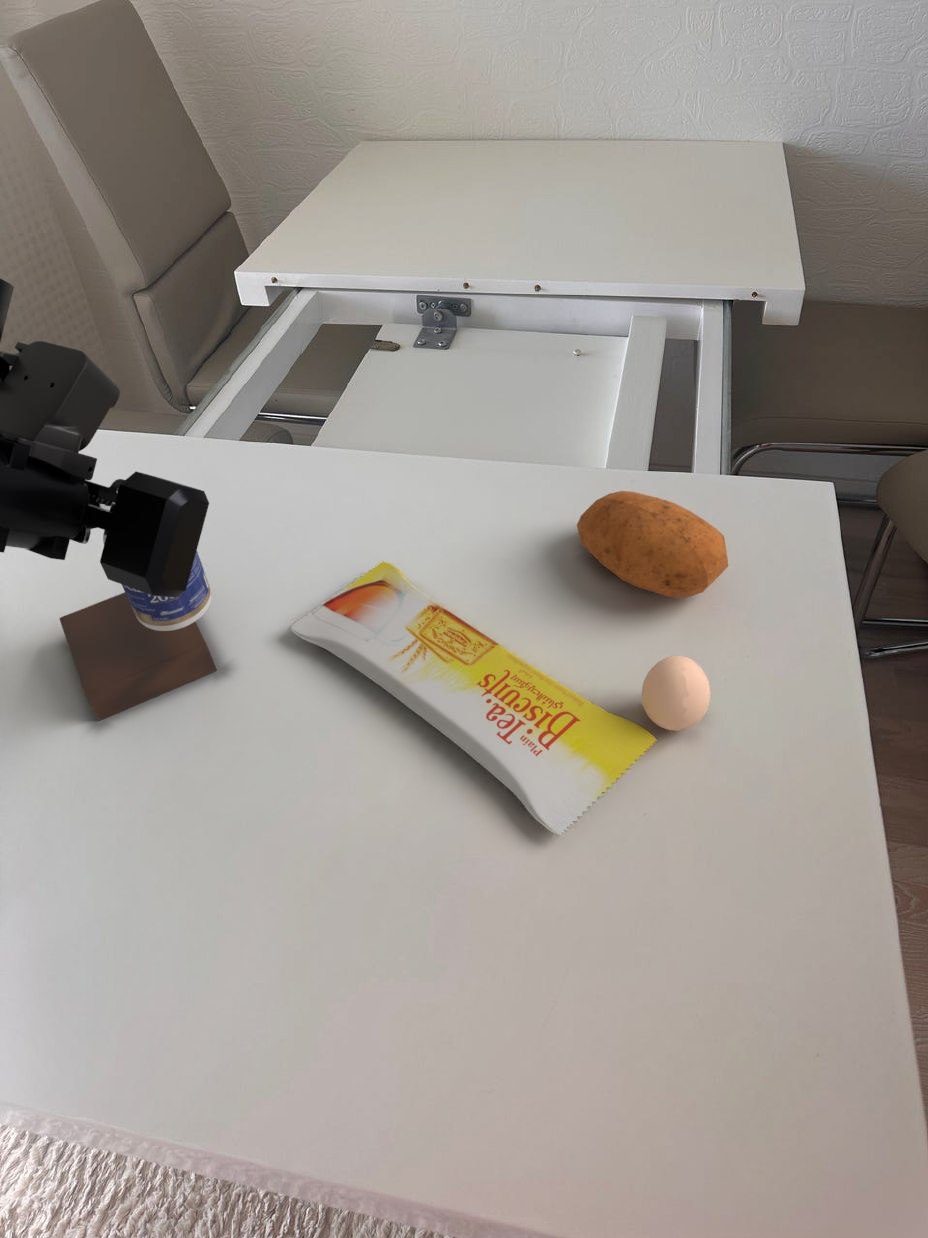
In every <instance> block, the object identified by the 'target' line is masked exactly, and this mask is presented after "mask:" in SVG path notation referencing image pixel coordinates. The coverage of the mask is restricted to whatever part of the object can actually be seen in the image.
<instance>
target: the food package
mask: <svg viewBox="0 0 928 1238" xmlns="http://www.w3.org/2000/svg"><path fill="white" fill-rule="evenodd" d="M289 628H290V631H291V632H292V633H294V634H295V635H296V636H298V637H299V638H300V639H302V640H304V641H305V642H308V643H311V644H314V645H316V646H318V647H320V648H323V649H325V650H327V651H328V652H330V653H332V654H333V655H335V657H337V658H339V659H341V660H342V661H344V662H345V663H347V664H348V665H349V666H351V667H352V668H354V669H355V670H357V671H358V672H360V673H361V674H362V675H364V676H366V677H367V678H368V679H370V680H371V681H373V682H374V683H375V684H377V685H378V686H380V687H381V688H382V689H383V690H385V691H386V692H388V693H389V694H390V695H392V696H393V697H394V698H396V699H397V700H398V701H399V702H401V703H402V704H403V705H405V707H407V708H409V709H410V710H411V711H412V712H414V713H415V714H416V715H418V716H419V717H421V718H422V719H423V720H424V721H426V722H427V723H428V724H430V725H431V726H432V727H434V728H435V729H436V730H438V731H439V732H440V733H441V734H442V735H444V736H445V737H446V738H447V739H449V740H450V741H451V742H452V743H454V744H455V745H456V746H458V747H459V748H460V749H462V751H464V752H465V753H466V754H467V755H469V756H470V757H471V758H472V759H473V760H475V762H477V763H478V764H480V765H481V766H482V767H483V768H484V769H485V770H486V771H488V773H490V774H491V775H492V776H493V777H495V778H496V779H497V780H498V781H500V782H501V783H502V784H503V785H504V786H505V787H506V788H507V789H508V790H510V791H511V792H512V793H513V794H514V795H515V796H516V798H517V799H518V800H519V801H520V802H521V804H522V805H523V806H524V808H525V810H527V812H528V813H529V814H530V815H531V816H532V817H533V819H535V820H536V821H537V822H538V823H539V825H542V826H543V827H544V828H545V829H546V830H548V831H549V832H551V833H552V834H554V835H558V836H560V837H563V834H566V831H567V832H568V831H569V829H571V826H574V823H576V822H578V821H579V820H578V818H581V817H583V813H586V812H588V808H591V807H593V804H594V803H597V802H598V798H602V797H603V794H604V793H608V789H611V788H612V785H613V784H617V780H618V779H622V775H625V774H626V773H627V770H631V766H635V765H636V761H639V760H641V759H640V757H642V756H645V753H648V750H650V749H651V748H652V747H653V745H656V743H657V742H658V740H657V739H656V737H655V736H654V735H653V734H652V733H650V732H649V731H648V730H647V729H645V728H643V727H642V726H640V725H639V724H637V723H635V722H634V721H631V720H629V719H626V718H624V717H622V716H619V715H616V714H614V713H611V712H610V711H607V710H605V709H603V708H601V707H600V706H598V705H596V704H594V703H593V702H592V701H589V700H587V699H586V698H584V697H583V696H581V695H580V694H577V693H576V692H575V691H573V690H571V689H570V688H568V687H567V686H565V685H563V684H562V683H560V682H559V681H557V680H555V679H553V678H552V677H550V676H549V675H547V674H546V673H544V672H542V671H541V670H540V669H537V668H536V667H535V666H533V665H531V664H530V663H528V662H526V661H525V660H523V659H522V658H520V657H519V656H517V655H515V653H513V652H512V651H510V650H508V649H507V648H506V647H504V646H502V644H500V643H497V642H496V641H495V640H493V639H491V638H490V637H489V636H487V635H485V634H484V633H483V632H481V631H480V630H478V629H476V628H475V627H474V626H472V625H470V624H469V623H467V622H466V621H464V620H462V619H461V618H460V617H458V616H457V615H456V614H454V613H453V612H451V611H450V610H449V609H447V608H446V607H444V606H443V605H441V604H440V603H438V602H437V601H435V600H434V599H433V598H431V597H430V596H428V594H426V593H424V592H423V591H422V590H420V589H419V588H418V587H417V586H415V585H414V584H413V583H412V582H411V581H410V580H409V579H408V578H407V577H406V575H405V574H404V573H403V571H401V569H399V568H398V567H396V566H395V565H393V564H392V563H390V562H387V561H383V560H382V561H381V562H379V564H376V565H375V566H374V567H372V569H370V570H368V572H365V573H364V574H363V575H361V576H359V578H358V579H354V582H353V581H352V582H350V584H349V585H346V586H345V588H342V589H341V590H340V591H338V592H336V594H334V595H332V596H331V597H330V598H328V599H327V600H326V601H323V602H322V604H320V605H318V606H317V607H315V608H313V610H312V611H308V614H305V615H303V617H301V618H299V619H297V621H294V623H291V625H289Z"/></svg>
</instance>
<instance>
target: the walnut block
mask: <svg viewBox="0 0 928 1238" xmlns="http://www.w3.org/2000/svg"><path fill="white" fill-rule="evenodd" d="M59 623H60V625H61V628H62V631H63V634H64V637H65V640H66V643H67V646H68V650H69V653H70V655H71V658H72V661H73V664H74V667H75V670H76V673H77V676H78V679H79V682H80V685H81V688H82V692H83V694H84V697H85V698H86V699H87V702H88V703H89V705H90V707H91V709H92V710H93V712H94V714H95V716H96V717H97V720H98V721H102V720H105V719H107V718H109V717H112V716H114V715H117V714H119V713H121V712H123V711H126V710H128V709H131V708H134V707H135V706H137V705H140V704H142V703H145V702H147V701H150V700H152V699H154V698H156V697H158V696H161V695H164V694H166V693H168V692H170V691H172V690H175V689H177V688H180V687H182V686H185V685H186V684H187V685H188V684H189V683H192V682H194V681H196V680H199V679H201V678H203V677H206V676H208V675H211V674H213V673H215V672H217V671H218V668H217V666H216V664H215V661H214V659H213V656H212V654H211V651H210V648H209V646H208V643H207V641H206V640H205V638H204V635H203V633H202V631H201V629H200V627H199V625H198V623H197V621H195V622H194V623H192V624H190V625H188V626H186V627H183V628H180V629H177V630H170V631H157V630H153V629H150V628H147V627H145V626H144V625H143V624H141V623H140V621H139V620H138V619H137V617H136V615H135V613H134V611H133V609H132V606H131V604H130V602H129V600H128V597H127V595H126V593H125V591H124V592H122V593H120V594H119V593H118V594H117V595H114V596H111V597H109V598H106V599H104V600H101V601H99V602H96V603H94V604H92V605H88V606H86V607H83V608H81V609H79V610H76V611H73V612H71V613H68V614H65V615H63V616H61V617H59Z"/></svg>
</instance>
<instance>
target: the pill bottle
mask: <svg viewBox="0 0 928 1238" xmlns="http://www.w3.org/2000/svg"><path fill="white" fill-rule="evenodd" d="M110 507H111V506H106V505H104V504H100V508H103V509H106V510H109V511H110ZM105 540H106V536H105V535H104V533H103V535H102V542H103V545H104V544H105ZM121 587H122V588H123V591H124V592H125V593H126V595H127V597H128V600H129V602H130V604H131V606H132V609H133V611H134V613H135V615H136V617H137V619H138V620H139V621H140V623H141V624H143V625H144V626H145V627H147V628H150V629H153V630H157V631H170V630H177V629H180V628H183V627H186V626H188V625H190V624H192V623H194V622H195V621H196V622H197V621H199V619H200V618H202V617H203V616H204V615H205V614H206V612H207V611H208V609H209V608H210V606H211V602H212V598H213V597H212V589H211V587H210V584H209V580H208V578H207V575H206V572H205V569H204V567H203V563H202V560H201V558H200V555H199V552H198V550H197V551H196V555H195V558H194V562H193V566H192V570H191V573H190V577H189V581H188V585H187V588H186V591H185V592H184V593H182V594H181V595H179V596H178V597H176V598H173V597H161V596H152V595H150V594H147V593H144V592H142V591H139V590H136V589H133V588H131V587H128V586H125V585H122V584H121Z"/></svg>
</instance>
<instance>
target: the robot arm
mask: <svg viewBox="0 0 928 1238" xmlns="http://www.w3.org/2000/svg"><path fill="white" fill-rule="evenodd" d="M14 289H15V286H14V285H13V284H11V283H10V282H9V281H6V280H4V279H2V278H0V343H1V342H2V337H3V334H4V329H5V325H6V321H7V317H8V313H9V309H10V304H11V301H12V296H13V292H14ZM14 349H15V350H17V351H18V352H17V353H12V352H11V353H10V352H6V351H2V350H0V553H5V551H6V547H10V548H19V549H24V550H26V551H29V552H32V553H35V554H37V555H40V556H43V557H46V558H47V559H52V560H61V561H66V557H67V552H68V549H69V546H70V545H69V544H70V541H72V542H76V543H79V544H84V545H87V543H89V541H90V537H91V531H92V530H93V529H100V530H103V534H104V535H105V536H106V540H105V544H104V543H103V548H102V552H101V556H100V559H99V563H100V565H101V567H102V570H103V572H104V574H105V577H106V578H107V580H109V581H112V582H115V583H117V584H120V585H121V586H122V585H125V586H128V587H131V588H133V589H136V590H139V591H142V592H144V593H147V594H150V595H152V596H161V597H173V598H176V597H178V596H179V595H181V594H182V593H184V592H185V591H186V588H187V585H188V581H189V577H190V573H191V570H192V566H193V562H194V558H195V555H196V551H197V552H198V547H199V544H200V539H201V536H202V531H203V528H204V524H205V521H206V517H207V512H208V509H209V505H210V501H209V499H208V497H207V495H206V492H205V490H202V489H199V488H196V487H192V486H189V485H186V484H182V483H179V482H175V481H172V480H169V479H165V478H163V477H158V476H155V475H153V474H152V475H151V474H149V473H148V474H147V473H144V472H140V471H134V472H133V473H132V474H131V475H130V476H128V477H127V478H126V479H124V478H118V479H116V480H114V481H113V482H111V485H110V486H106V485H102V484H99V483H96V482H93V481H91V480H92V479H93V478H94V473H95V469H96V465H97V461H98V458H96V457H93V456H90V455H88V454H84V453H79V452H80V451H82V450H84V449H86V448H87V447H88V446H89V445H90V443H91V442H92V440H93V438H94V436H95V435H96V434H97V431H98V429H99V428H100V426H101V424H102V423H103V422H104V419H106V416H107V414H108V413H109V411H110V409H114V408H115V406H116V404H117V403H118V401H119V399H120V396H121V395H120V394H121V390H120V387H119V386H118V384H116V382H114V380H112V379H111V378H110V377H109V376H108V375H107V374H106V373H105V372H104V371H103V369H101V368H100V366H98V365H97V363H95V362H94V361H93V360H92V359H91V358H90V357H89V356H88V355H87V354H86V353H85V352H84V351H82V350H80V349H75V348H72V347H68V346H63V345H60V344H55V343H51V342H47V341H43V340H36V341H33V342H31V343H29V344H27V343H23V342H20V341H17V342H16V344H15V345H14ZM10 367H11V368H10ZM100 504H104V505H106V506H111V507H110V511H109V510H106V509H103V508H100Z"/></svg>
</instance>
